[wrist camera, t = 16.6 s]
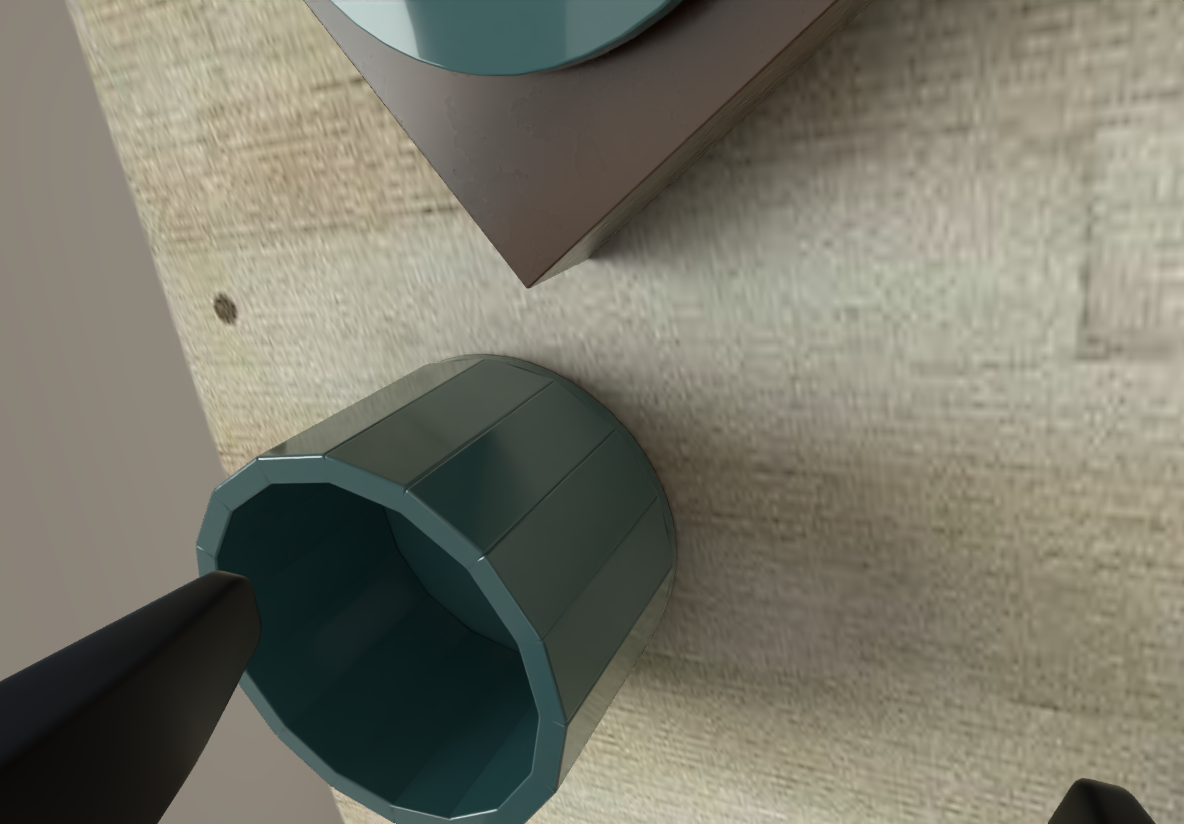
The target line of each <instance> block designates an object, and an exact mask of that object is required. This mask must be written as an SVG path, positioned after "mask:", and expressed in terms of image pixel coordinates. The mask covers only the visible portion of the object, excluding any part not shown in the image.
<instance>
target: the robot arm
mask: <svg viewBox="0 0 1184 824" xmlns="http://www.w3.org/2000/svg"><path fill="white" fill-rule="evenodd" d="M261 632H262V623H261V618H260V614H259V610H258V605H257V601H256V597H255V593H254V589H253V585H252V583H251V581H250V580H249V579H248V578H247V577H245V576H242V575H238V574H234V573H229V572H225V571H213V572H209V573H207V574H205V575H203V576H201V577H199V578H197V579H195V580H194V581H192V582H190V583H188V584H186V585H184V586H182V587H180V588H178V589H176V590H174V591H172V592H171V593H169V594H167V595H165V596H163V597H161V598H159V599H157V600H155V601H153V602H151V603H150V604H148V605H146V606H144V607H142V608H140V609H138V610H136V611H134V612H132V613H130V614H129V615H126V616H125V617H123V618H121V619H119V620H117V621H115V622H113V623H111V624H109V625H107V626H105V627H103V628H102V629H100V630H98V631H96V632H94V633H92V634H90V635H88V636H86V637H84V638H82V639H81V640H79V641H77V642H75V643H73V644H71V645H69V646H67V647H65V648H63V649H61V650H60V651H58V652H56V653H54V654H52V655H50V656H48V657H46V658H44V659H43V660H40V661H38V662H36V663H35V664H33V665H31V666H29V667H27V668H25V669H23V670H21V671H19V672H17V673H15V674H14V675H12V676H10V677H8V678H6V679H4V680H2V681H1V682H0V824H158V822H159V820H160V819H161V817H162V816H163V814H164V813H165V811H166V810H167V808H168V807H169V805H170V804H171V802H172V800H173V799H174V797H175V796H176V794H177V793H178V791H179V790H180V788H181V787H182V785H183V783H184V782H185V780H186V779H187V777H188V775H189V774H190V772H191V771H192V769H193V767H194V766H195V764H196V762H197V761H198V758H199V757H200V755H201V753H202V751H203V750H204V748H205V746H206V744H207V742H208V740H209V738H210V736H211V735H212V733H213V731H214V729H215V727H216V725H217V723H218V721H219V719H220V717H221V715H222V713H223V711H224V710H225V707H226V706H227V704H228V702H229V700H230V698H231V696H232V694H233V692H234V690H235V688H236V686H237V684H238V682H239V681H240V679H241V677H242V675H243V673H244V671H245V669H246V667H247V665H248V663H249V661H250V659H251V657H252V655H253V653H254V652H255V650H256V648H257V645H258V643H259V640H260V637H261ZM1048 824H1156V823H1155V822H1154V821H1153V820H1152V818H1151V817H1150V816H1149V815H1148V813H1147V812H1146V811H1145V810H1144V808H1143V807H1142V806H1141V805H1140V803H1139V802H1138V801H1137V800H1136V798H1135V797H1134V796H1133V795H1132V794H1131V793H1129V792H1128V791H1127V790H1125V789H1124V788H1122V787H1119V786H1116V785H1112V784H1108V783H1104V782H1099V781H1095V780H1091V779H1086V778H1082V779H1079V780H1077V781H1075V782H1074V784H1073V785H1072V786H1071V788H1070V789H1069V791H1068V792H1067V794H1066V795H1065V797H1064V798H1063V800H1062V801H1061V803H1060V805H1059V806H1058V808H1057V809H1056V811H1055V812H1054V814H1053V815H1052V817H1051V818H1050V820H1049V822H1048Z"/></svg>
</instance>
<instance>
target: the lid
mask: <svg viewBox="0 0 1184 824" xmlns="http://www.w3.org/2000/svg"><path fill="white" fill-rule="evenodd" d="M329 1H330V2H332V3H333V4H334V5H335V6H336V7H337V8H338V9H339V10H340V11H341V12H343V13H344V14H345V15H346V16H347V17H348V18H349V19H350V20H351V21H353V22H354V23H355V24H356V25H357V26H358V27H360V28H361V29H363V30H364V31H366V32H367V33H369V34H370V35H371V36H373V37H374V38H376V39H377V40H379V41H380V42H382V43H383V44H385V45H386V46H388V47H390V48H392V49H394V50H396V51H398V52H400V53H402V54H404V55H406V56H408V57H410V58H412V59H414V60H416V61H418V62H422V63H425V64H428V65H431V66H434V67H437V68H440V69H444V70H447V71H451V72H457V73H464V74H471V75H477V76H521V75H532V74H537V73H543V72H548V71H554V70H559V69H565V68H567V67H570V66H573V65H576V64H579V63H582V62H584V61H587V60H590V59H593V58H596V57H599V56H601V55H603V54H605V53H607V52H608V51H610V50H612V49H614V48H616V47H618V46H620V45H622V44H624V43H625V42H627V41H629V40H631V39H633V38H635V37H636V36H638V35H639V34H640V33H642V32H643V31H645V30H646V29H647V28H649V27H650V26H652V25H653V24H654V23H656V22H657V21H658V20H660V19H661V18H663V17H664V16H665V15H667V14H668V13H669V12H671V11H672V10H673V9H674V8H675V7H676V6H677V5H678V4H679V3H680V2H681V1H682V0H329Z"/></svg>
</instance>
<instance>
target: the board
mask: <svg viewBox="0 0 1184 824" xmlns="http://www.w3.org/2000/svg"><path fill="white" fill-rule="evenodd" d="M304 1H305V3H306V4H307V5H308V7H309V8H310V9H311V10H312V12H313V13H314V14H315V16H316V17H317V18H318V20H319V21H320V22H321V23H322V25H323V26H324V27H325V29H326V30H327V31H328V32H329V34H330V35H331V36H332V38H333V39H334V40H335V41H336V43H337V44H338V45H339V47H340V48H341V49H342V50H343V52H344V53H345V54H346V56H347V57H348V58H349V60H350V61H351V62H352V63H353V65H354V66H355V67H356V69H357V70H358V71H359V72H360V74H361V75H362V76H363V78H364V79H365V80H366V81H367V83H368V84H369V85H370V87H371V88H372V89H373V90H374V92H375V93H376V94H377V96H378V97H379V98H380V100H381V101H382V102H383V103H384V105H385V106H386V107H387V109H388V110H389V111H390V112H391V114H392V115H393V116H394V118H395V119H396V120H397V121H398V123H399V124H400V125H401V127H402V128H403V129H404V130H405V132H406V133H407V134H408V136H409V137H410V138H411V140H412V141H413V142H414V143H415V145H416V146H417V147H418V149H419V150H420V151H421V152H422V154H423V155H424V156H425V158H426V159H427V160H428V161H429V163H430V164H431V165H432V167H433V168H434V169H435V171H436V172H437V173H438V174H439V176H440V177H441V178H442V180H443V181H444V182H445V183H446V185H447V186H448V187H449V189H450V190H451V191H452V192H453V194H454V195H455V196H456V198H457V199H458V200H459V201H460V203H461V204H462V205H463V207H464V208H465V209H466V211H467V212H468V213H469V214H470V216H471V217H472V218H473V220H474V221H475V222H476V223H477V225H478V226H479V227H480V229H481V230H482V231H483V232H484V234H485V235H486V236H487V238H488V239H489V240H490V241H491V243H492V244H493V245H494V247H495V248H496V249H497V251H498V252H499V253H500V254H501V256H502V257H503V258H504V260H505V261H506V262H507V263H508V265H509V266H510V267H511V269H512V270H513V271H514V272H515V274H516V275H517V276H518V278H519V279H520V280H521V281H522V283H523V284H524V285H525V287H526V288H531V287H533V286H535V285H537V284H539V283H541V282H543V281H545V280H547V279H549V278H551V277H553V276H555V275H557V274H559V273H561V272H563V271H565V270H567V269H569V268H571V267H573V266H575V265H577V264H579V263H581V262H583V261H585V260H587V259H588V258H589V257H590V256H591V255H592V254H593V253H594V252H596V251H597V250H598V249H599V248H600V247H601V246H602V245H603V244H604V243H605V242H607V241H608V240H609V239H610V238H611V237H612V236H613V235H614V234H615V233H617V232H618V231H619V230H620V229H621V228H622V227H623V226H624V225H625V224H627V223H628V222H629V221H630V220H631V219H632V218H633V217H634V216H635V215H637V214H638V213H639V212H640V211H641V210H642V209H643V208H644V207H645V206H646V205H648V204H649V203H650V202H651V201H652V200H653V199H654V198H655V197H656V196H658V195H659V194H660V193H661V192H662V191H663V190H664V189H665V188H666V187H668V186H669V185H670V184H671V183H672V182H673V181H674V180H675V179H676V178H678V177H679V176H680V175H681V174H682V173H683V172H684V171H685V170H686V169H687V168H689V167H690V166H691V165H692V164H693V163H694V162H695V161H696V160H697V159H699V158H700V157H701V156H702V155H703V154H704V153H705V152H706V151H707V150H709V149H710V148H711V147H712V146H713V145H714V144H715V143H716V142H717V141H719V140H720V139H721V138H722V137H723V136H724V135H725V134H726V133H727V132H729V131H730V130H731V129H732V128H733V127H734V126H735V125H736V124H737V123H738V122H740V121H741V120H742V119H743V118H744V117H745V116H746V115H747V114H748V113H750V112H751V111H752V110H753V109H754V108H755V107H756V106H757V105H758V104H760V103H761V102H762V101H763V100H764V99H765V98H766V97H767V96H768V95H770V94H771V93H772V92H773V91H774V90H775V89H776V88H777V87H778V86H779V85H781V84H782V83H783V82H784V81H785V80H786V79H787V78H788V77H789V76H791V75H792V74H793V73H794V72H795V71H796V70H797V69H798V68H799V67H801V66H802V65H803V64H804V63H805V62H806V61H807V60H808V59H809V58H811V57H812V56H813V55H814V54H815V53H816V52H817V51H818V50H819V49H820V48H822V47H823V46H824V45H825V44H826V43H827V42H828V41H829V40H830V39H832V38H833V37H834V36H835V35H836V34H837V33H838V32H839V31H840V30H842V29H843V28H844V27H845V26H846V25H847V24H848V23H849V22H850V21H852V20H853V19H854V18H855V17H856V16H857V15H858V14H859V13H860V12H861V11H863V10H864V9H865V8H866V7H867V6H868V5H869V4H870V3H871V2H873V1H874V0H682V1H681V2H680V3H679V4H678V5H677V6H676V7H675V8H674V9H673V10H672V11H671V12H669V13H668V14H667V15H665V16H664V17H663V18H661V19H660V20H658V21H657V22H656V23H654V24H653V25H652V26H650V27H649V28H647V29H646V30H645V31H643V32H642V33H640V34H639V35H638V36H636V37H635V38H633V39H631V40H629V41H627V42H625V43H624V44H622V45H620V46H618V47H616V48H614V49H612V50H610V51H608V52H607V53H605V54H603V55H601V56H599V57H596V58H593V59H590V60H587V61H584V62H582V63H579V64H576V65H573V66H570V67H567V68H565V69H559V70H554V71H548V72H543V73H537V74H532V75H521V76H477V75H471V74H464V73H457V72H451V71H447V70H444V69H440V68H437V67H434V66H431V65H428V64H425V63H422V62H418V61H416V60H414V59H412V58H410V57H408V56H406V55H404V54H402V53H400V52H398V51H396V50H394V49H392V48H390V47H388V46H386V45H385V44H383V43H382V42H380V41H379V40H377V39H376V38H374V37H373V36H371V35H370V34H369V33H367V32H366V31H364V30H363V29H361V28H360V27H358V26H357V25H356V24H355V23H354V22H353V21H351V20H350V19H349V18H348V17H347V16H346V15H345V14H344V13H343V12H341V11H340V10H339V9H338V8H337V7H336V6H335V5H334V4H333V3H332V2H330V1H329V0H304Z"/></svg>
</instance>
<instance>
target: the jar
mask: <svg viewBox="0 0 1184 824" xmlns="http://www.w3.org/2000/svg"><path fill="white" fill-rule="evenodd" d="M196 553H197V561H198V569H199V577H201V576H203V575H205V574H207V573H209V572H213V571H225V572H229V573H234V574H238V575H242V576H245V577H247V578H248V579H249V580H250V581H251V583H252V585H253V589H254V593H255V597H256V601H257V605H258V610H259V614H260V618H261V623H262V632H261V637H260V640H259V643H258V645H257V648H256V650H255V652H254V653H253V655H252V657H251V659H250V661H249V663H248V665H247V667H246V669H245V671H244V673H243V675H242V677H241V679H240V681H239V682H238V684H239V685H240V687H241V688H242V689H243V691H244V692H245V694H246V695H247V696H248V698H249V699H250V700H251V702H252V703H253V705H254V706H255V707H256V709H257V710H258V712H259V713H260V714H261V716H262V717H263V718H264V720H265V721H266V723H267V724H268V725H269V727H270V728H271V729H272V731H273V732H274V733H275V734H276V735H277V737H278V738H279V739H280V740H281V741H282V742H283V743H285V745H286V746H288V747H289V748H290V749H291V750H292V751H293V752H294V753H295V754H296V755H297V756H298V757H299V758H301V759H302V760H303V761H304V762H305V763H306V764H307V765H308V766H309V767H310V768H311V769H313V770H314V771H315V772H316V773H317V774H318V775H319V776H320V777H321V778H322V779H323V780H325V781H326V782H327V783H328V784H329V785H330V786H331V787H334V788H335V789H336V790H337V791H339V792H341V793H343V794H344V795H346V796H348V797H350V798H351V799H353V800H355V801H356V802H358V803H360V804H362V805H363V806H365V807H367V808H369V809H370V810H372V811H374V812H376V813H377V814H379V815H381V816H382V817H384V818H386V819H388V820H389V821H391V822H393V823H396V824H525V823H526V822H527V821H528V820H529V819H530V818H531V817H532V816H533V815H534V814H535V813H536V812H537V811H538V810H539V809H540V808H541V807H542V806H543V805H544V804H545V803H546V802H547V801H548V800H549V799H550V798H551V797H552V796H553V795H554V794H555V793H556V792H557V790H558V789H559V787H560V785H561V784H562V782H563V781H564V779H565V777H566V776H567V774H568V772H569V771H570V769H571V768H572V766H573V764H574V763H575V761H576V759H577V758H578V756H579V755H580V753H581V751H582V750H583V748H584V746H585V745H586V743H587V742H588V740H589V738H590V737H591V735H592V733H593V732H594V730H595V729H596V727H597V725H598V724H599V722H600V720H601V719H602V717H603V716H604V714H605V712H606V711H607V709H608V707H609V706H610V704H611V703H612V701H613V699H614V698H615V696H616V694H617V693H618V691H619V689H620V688H621V686H622V685H623V683H624V681H625V680H626V678H627V676H628V675H629V673H630V672H631V670H632V668H633V667H634V665H635V663H636V662H637V660H638V659H639V657H640V655H641V654H642V652H643V650H644V649H645V647H646V646H647V644H648V642H649V641H650V639H651V637H652V636H653V634H654V633H655V631H656V629H657V628H658V626H659V624H660V622H661V619H662V615H663V611H664V609H665V607H666V605H667V603H668V600H669V597H670V594H671V591H672V588H673V584H674V578H675V571H676V538H675V531H674V525H673V519H672V516H671V512H670V509H669V505H668V502H667V498H666V496H665V493H664V491H663V489H662V486H661V484H660V482H659V479H658V477H657V475H656V473H655V471H654V469H653V468H652V466H651V464H650V462H649V461H648V459H647V457H646V455H645V454H644V452H643V451H642V450H641V448H640V447H639V445H638V444H637V443H636V441H635V440H634V438H633V437H632V436H631V434H630V433H629V432H628V431H627V430H626V429H625V428H624V426H623V425H622V424H621V423H620V422H619V421H618V420H617V419H616V418H615V416H614V415H613V414H612V413H610V412H609V411H608V410H607V409H606V408H605V407H604V406H603V405H601V404H600V403H599V402H598V401H597V400H596V399H595V398H594V397H592V396H591V395H589V394H588V393H586V392H585V391H584V390H582V389H581V388H579V387H578V386H577V385H575V384H574V383H572V382H570V381H568V380H567V379H565V378H563V377H561V376H559V375H557V374H556V373H554V372H552V371H549V370H547V369H544V368H542V367H539V366H537V365H534V364H532V363H529V362H525V361H521V360H517V359H514V358H510V357H503V356H494V355H465V356H460V357H454V358H449V359H446V360H443V361H440V362H438V363H433V364H428V365H425V366H423V367H421V368H419V369H418V370H416V371H414V372H412V373H410V374H408V375H406V376H405V377H403V378H401V379H399V380H397V381H395V382H394V383H392V384H390V385H388V386H386V387H384V388H382V389H381V390H379V391H377V392H375V393H373V394H371V395H370V396H368V397H366V398H364V399H362V400H360V401H358V402H357V403H355V404H353V405H351V406H349V407H347V408H346V409H344V410H342V411H340V412H338V413H336V414H334V415H333V416H331V417H329V418H327V419H325V420H323V421H322V422H320V423H318V424H316V425H314V426H312V427H310V428H309V429H307V430H305V431H303V432H301V433H299V434H297V435H296V436H294V437H292V438H290V439H288V440H286V441H285V442H283V443H281V444H279V445H277V446H275V447H273V448H272V449H270V450H268V451H266V452H264V453H262V454H261V455H259V456H257V457H255V458H254V459H253V460H251V461H250V462H249V463H247V464H246V465H245V466H243V467H242V468H241V469H239V470H238V471H237V472H235V473H234V474H233V475H232V476H230V477H229V478H228V479H226V480H225V481H224V482H222V483H221V484H220V485H218V486H217V487H216V488H215V489H214V491H213V492H212V494H211V497H210V500H209V503H208V506H207V510H206V513H205V516H204V519H203V522H202V525H201V528H200V532H199V535H198V538H197V541H196Z"/></svg>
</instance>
